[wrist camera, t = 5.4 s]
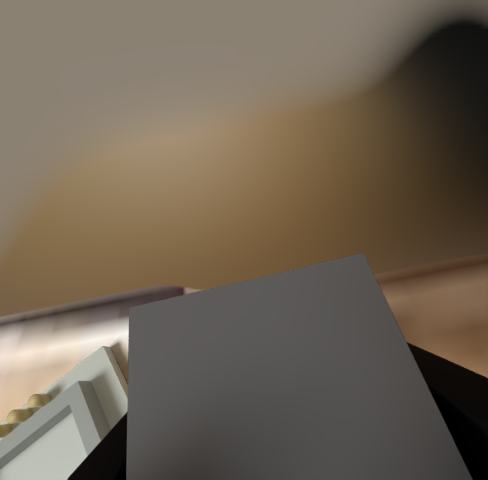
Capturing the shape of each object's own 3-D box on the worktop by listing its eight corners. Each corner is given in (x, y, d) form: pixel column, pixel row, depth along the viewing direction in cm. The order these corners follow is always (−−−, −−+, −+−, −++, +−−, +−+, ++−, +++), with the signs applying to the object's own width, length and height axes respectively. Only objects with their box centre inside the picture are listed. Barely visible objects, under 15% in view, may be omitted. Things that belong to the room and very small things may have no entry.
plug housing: (354, 454, 12) (546, 635, 3) (236, 482, 12) (121, 731, 3) (314, 331, 15) (363, 252, 6) (218, 353, 15) (129, 307, 6)
